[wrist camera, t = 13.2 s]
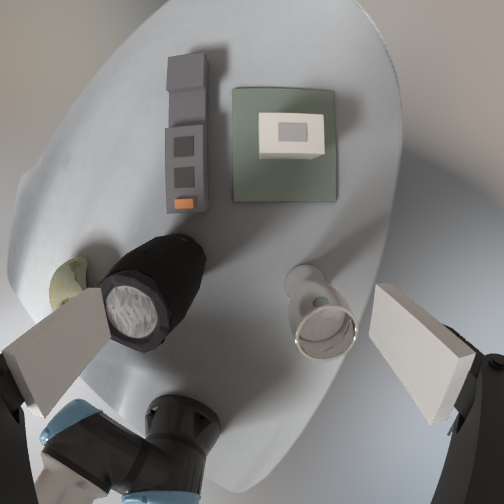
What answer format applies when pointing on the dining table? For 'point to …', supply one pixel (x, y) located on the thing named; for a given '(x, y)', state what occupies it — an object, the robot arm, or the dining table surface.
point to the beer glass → (318, 315)
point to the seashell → (68, 282)
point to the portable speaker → (152, 290)
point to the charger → (291, 136)
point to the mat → (281, 170)
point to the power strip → (187, 134)
